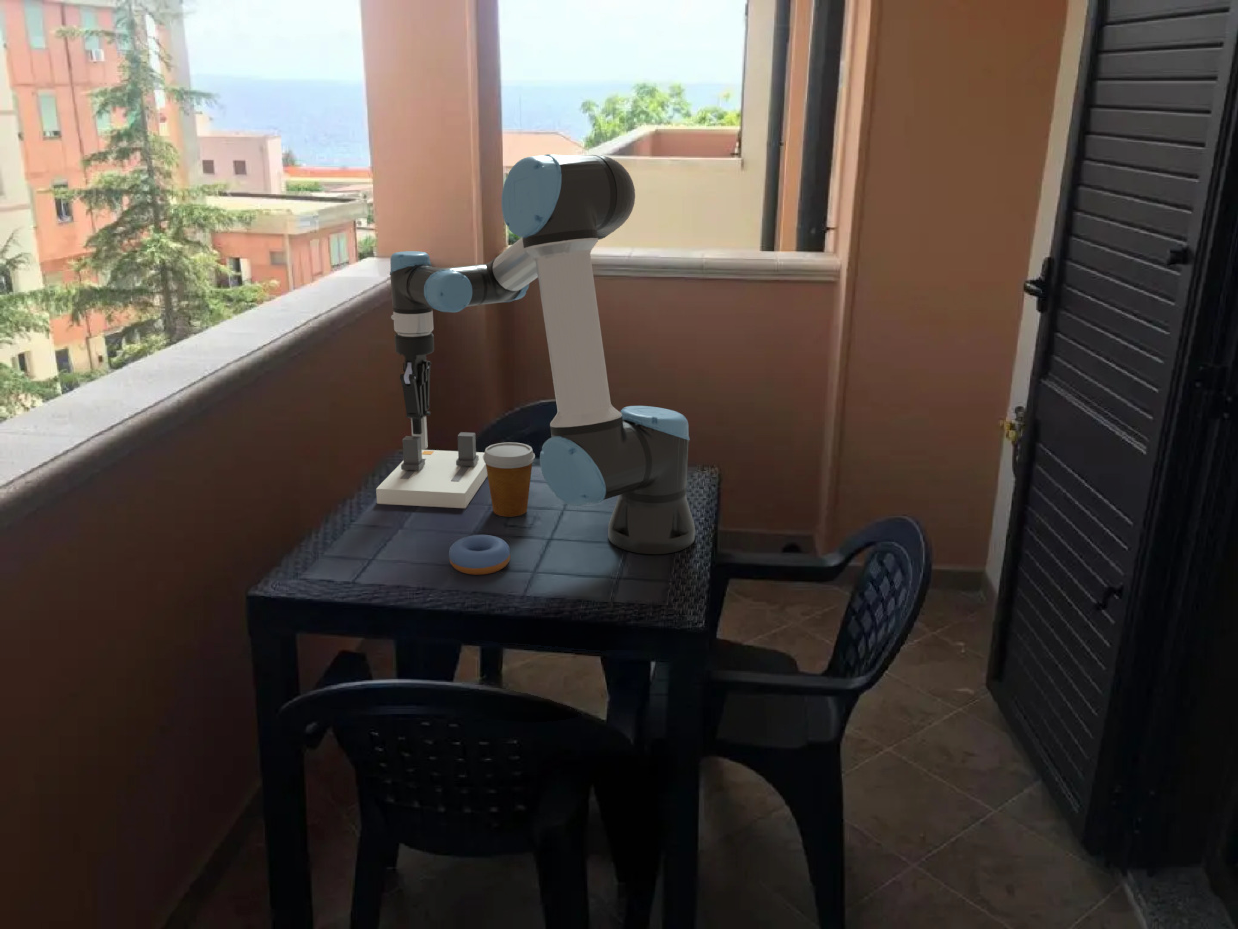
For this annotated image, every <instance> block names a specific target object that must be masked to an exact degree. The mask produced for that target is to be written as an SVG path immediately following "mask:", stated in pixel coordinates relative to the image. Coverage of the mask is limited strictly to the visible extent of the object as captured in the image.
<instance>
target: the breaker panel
mask: <svg viewBox="0 0 1238 929" xmlns="http://www.w3.org/2000/svg"><path fill="white" fill-rule="evenodd" d="M484 453H485V452H483V451H482V452H479V451H476V455H478V456H479V460H478V462H477V463H476V464H475V466H456V460H457V459H458V450H441V449H440V450H439V449H436V450H435V449H422V459H425V465H424V466H423V467H422V468H421V469H420V470H419V471H418V470H401V464H402V463H403V462H404V459H403V460H402V461H401V462H400V463H399V464H398V465H397V467H396V468H395V469H393V470H392V472H390V474H388V475H387V477H386V478H385V479H384V480H383V481H381V483H380V484H379V485H378V486H377V487H376V489H375V491H376V493H375V494H376V503H377V504H378V505H397V506H398V505H399V506H401V505H402V506H414V507H415V506H419V507H436V508H451V509H452V508H455V509H467V507H468V505H469V503H470V502H471V501H472V499H473V498H474V496H475V495H476V493H477V492H478V490H479V489H480V487H481V486H482V485H483V484H484V481H485V480H486V478H488V475H487V469H486V463H485V462H484V460H483V455H484Z"/></svg>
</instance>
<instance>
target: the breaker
mask: <svg viewBox="0 0 1238 929" xmlns="http://www.w3.org/2000/svg"><path fill="white" fill-rule="evenodd" d="M476 439H477V438H476V432H467V431H465V432H463V431H460V432H459V433H458V435H457V451H458V459H457V460H456V466H475V464H476V463H477V462H478V460H479V456H478V455H476V452H477V448H476V447H477V446H476V441H477V440H476Z"/></svg>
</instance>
